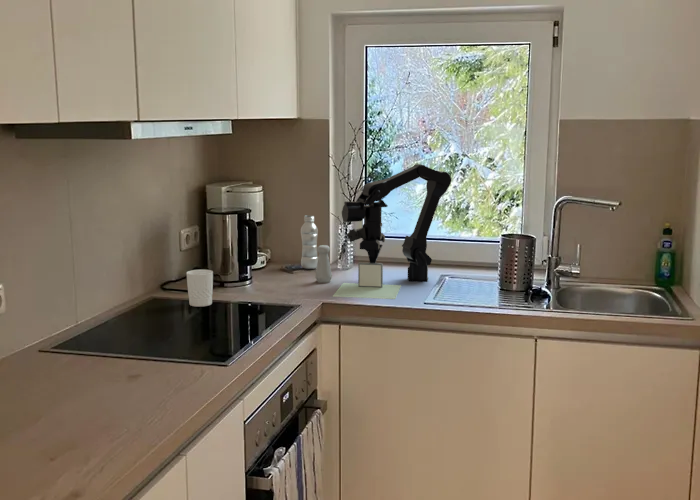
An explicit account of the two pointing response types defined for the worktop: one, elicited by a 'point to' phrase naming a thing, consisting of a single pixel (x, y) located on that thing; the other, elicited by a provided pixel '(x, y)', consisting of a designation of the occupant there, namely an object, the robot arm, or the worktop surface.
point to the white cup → (200, 287)
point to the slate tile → (370, 274)
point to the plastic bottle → (309, 243)
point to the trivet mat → (367, 291)
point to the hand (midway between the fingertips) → (372, 266)
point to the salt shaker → (323, 265)
